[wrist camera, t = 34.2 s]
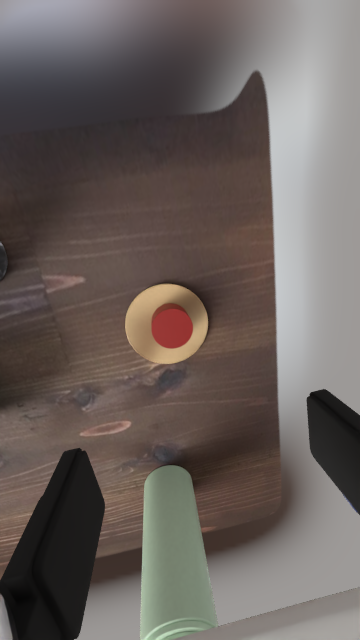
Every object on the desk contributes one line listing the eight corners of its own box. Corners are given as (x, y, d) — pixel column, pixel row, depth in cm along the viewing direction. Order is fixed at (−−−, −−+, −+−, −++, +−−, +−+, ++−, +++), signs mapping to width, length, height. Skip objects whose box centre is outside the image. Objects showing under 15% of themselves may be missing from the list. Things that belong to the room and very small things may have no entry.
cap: (157, 298, 25) (158, 303, 23) (194, 309, 26) (198, 315, 23) (146, 333, 26) (146, 342, 23) (181, 343, 27) (185, 353, 24)
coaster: (222, 311, 27) (224, 313, 27) (178, 374, 28) (178, 377, 28) (154, 266, 25) (154, 266, 24) (110, 337, 26) (109, 338, 26)
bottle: (195, 465, 32) (253, 739, 14) (187, 503, 34) (229, 793, 16) (147, 463, 31) (143, 755, 13) (141, 502, 33) (129, 811, 15)
